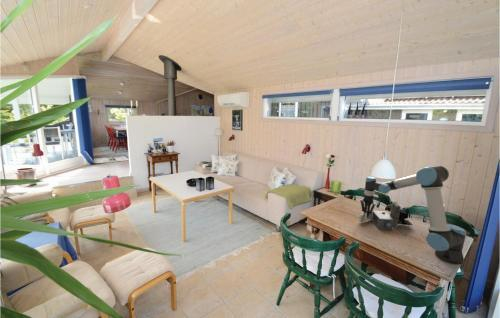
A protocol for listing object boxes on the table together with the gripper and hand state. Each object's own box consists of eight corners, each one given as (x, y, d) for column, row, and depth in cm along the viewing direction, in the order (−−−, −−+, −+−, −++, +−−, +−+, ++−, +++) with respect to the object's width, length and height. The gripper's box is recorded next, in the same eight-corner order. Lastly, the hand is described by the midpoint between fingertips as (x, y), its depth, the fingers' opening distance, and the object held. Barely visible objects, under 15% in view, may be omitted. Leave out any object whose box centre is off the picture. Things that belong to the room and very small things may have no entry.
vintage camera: (412, 229, 201) (416, 207, 197) (392, 227, 204) (396, 205, 199) (407, 224, 210) (411, 203, 206) (388, 222, 213) (392, 201, 209)
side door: (359, 223, 210) (361, 215, 208) (358, 222, 211) (359, 214, 209) (371, 220, 216) (372, 211, 214) (369, 219, 218) (371, 211, 216)
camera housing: (393, 231, 197) (395, 220, 195) (379, 229, 199) (380, 218, 197) (384, 220, 215) (386, 210, 213) (371, 219, 217) (372, 209, 215)
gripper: (378, 195, 201) (375, 221, 206) (363, 191, 211) (360, 216, 216) (374, 197, 196) (371, 224, 201) (359, 193, 206) (356, 218, 211)
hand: (365, 219), depth 209 cm, fingers closed
